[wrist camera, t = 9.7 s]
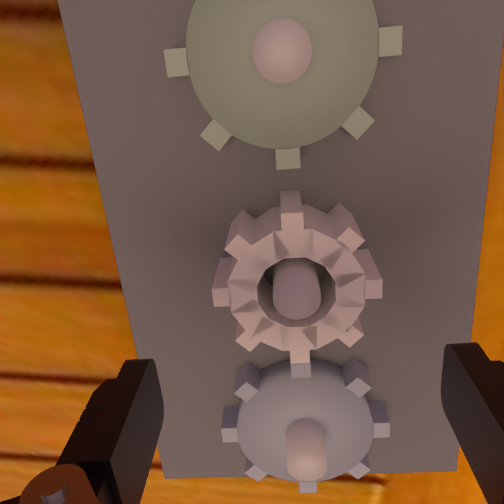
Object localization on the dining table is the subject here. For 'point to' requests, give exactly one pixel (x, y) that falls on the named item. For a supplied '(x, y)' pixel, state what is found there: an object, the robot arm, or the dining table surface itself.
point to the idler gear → (296, 246)
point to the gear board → (312, 193)
